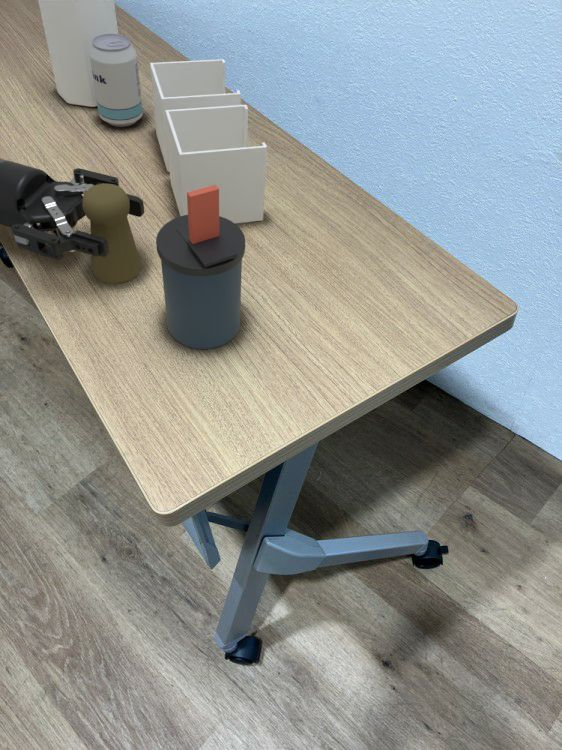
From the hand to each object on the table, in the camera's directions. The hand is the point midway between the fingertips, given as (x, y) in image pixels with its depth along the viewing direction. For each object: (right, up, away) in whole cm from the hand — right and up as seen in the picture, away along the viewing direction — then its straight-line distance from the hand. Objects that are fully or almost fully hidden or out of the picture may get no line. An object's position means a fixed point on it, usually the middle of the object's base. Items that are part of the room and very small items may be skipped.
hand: (125, 227), depth 71 cm
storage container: (+7, +13, +20) cm, 25 cm away
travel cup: (+9, -11, +1) cm, 14 cm away
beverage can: (-8, +24, +29) cm, 39 cm away
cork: (-2, -4, +6) cm, 7 cm away
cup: (-14, +31, +34) cm, 48 cm away
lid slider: (+11, -5, -10) cm, 16 cm away
